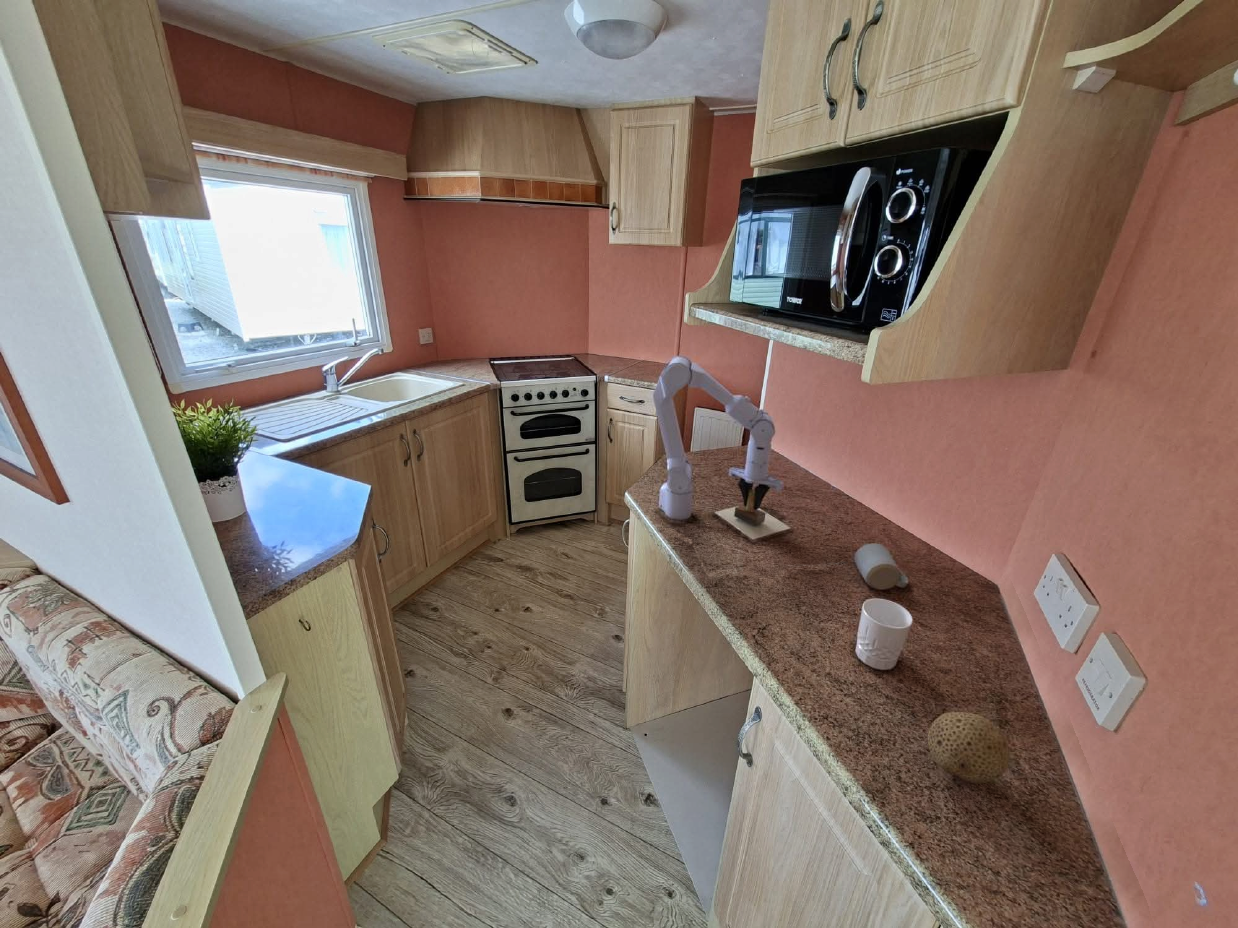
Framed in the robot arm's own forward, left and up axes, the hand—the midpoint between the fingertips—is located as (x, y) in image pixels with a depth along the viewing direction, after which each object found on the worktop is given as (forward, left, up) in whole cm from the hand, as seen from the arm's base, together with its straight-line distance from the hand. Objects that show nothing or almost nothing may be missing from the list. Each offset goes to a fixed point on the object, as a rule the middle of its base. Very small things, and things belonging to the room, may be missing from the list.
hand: (751, 506), depth 132 cm
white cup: (+48, -11, -6) cm, 50 cm away
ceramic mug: (+33, +10, -6) cm, 35 cm away
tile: (0, +1, -5) cm, 5 cm away
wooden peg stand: (0, -1, -3) cm, 4 cm away
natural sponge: (+68, -20, -6) cm, 71 cm away
